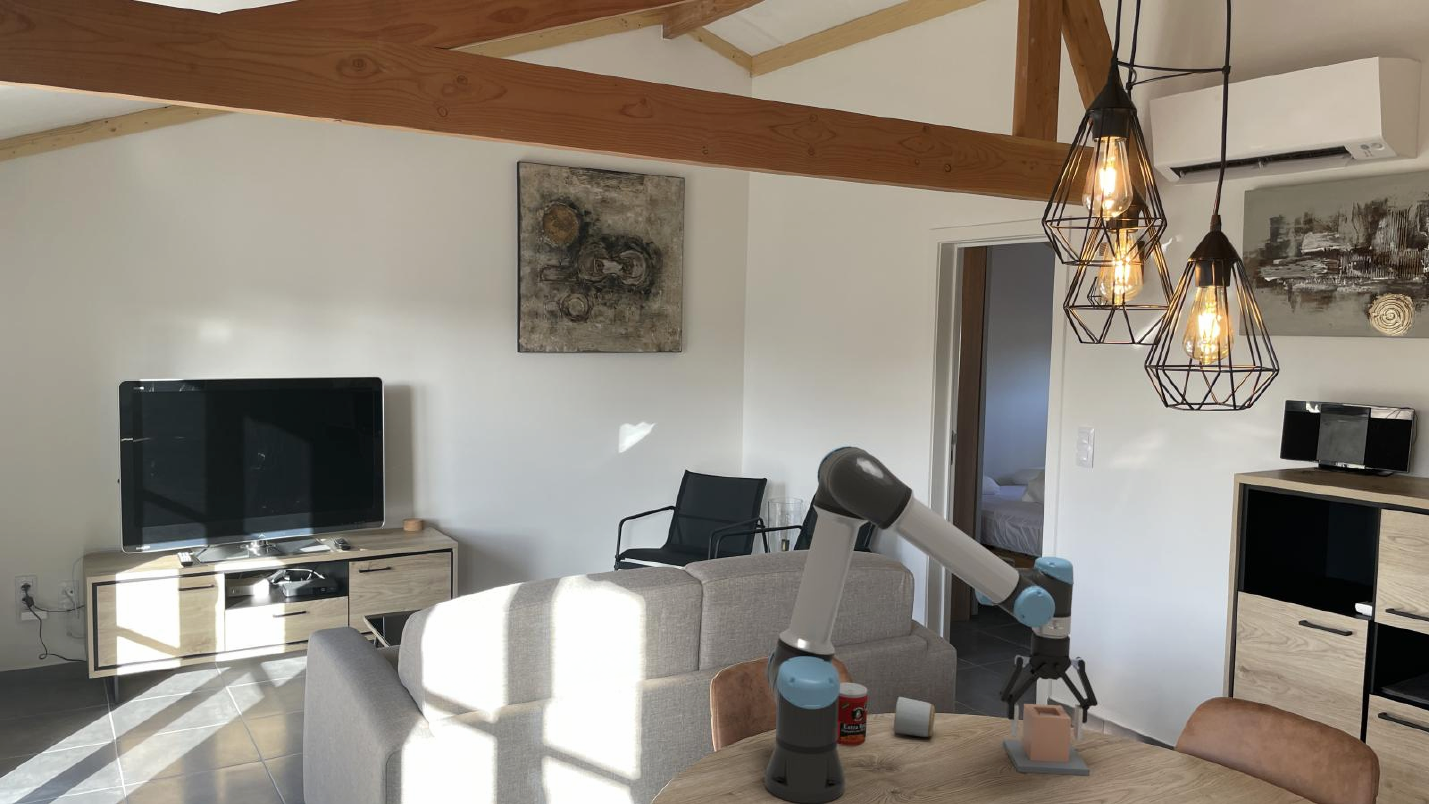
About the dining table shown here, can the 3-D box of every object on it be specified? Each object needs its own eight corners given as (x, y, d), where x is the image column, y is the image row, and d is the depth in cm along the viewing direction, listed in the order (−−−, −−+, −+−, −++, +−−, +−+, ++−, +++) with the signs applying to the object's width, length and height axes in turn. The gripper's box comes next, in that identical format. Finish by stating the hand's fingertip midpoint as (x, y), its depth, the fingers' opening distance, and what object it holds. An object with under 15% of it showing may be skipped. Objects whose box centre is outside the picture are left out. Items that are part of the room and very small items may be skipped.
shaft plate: (1018, 771, 206) (1018, 766, 206) (1002, 744, 220) (1002, 739, 220) (1089, 775, 206) (1089, 769, 206) (1069, 747, 220) (1069, 742, 219)
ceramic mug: (931, 743, 220) (933, 707, 220) (893, 737, 222) (894, 702, 222) (935, 726, 230) (937, 692, 230) (898, 721, 232) (900, 687, 232)
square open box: (1030, 760, 209) (1032, 717, 209) (1021, 745, 217) (1023, 703, 216) (1068, 762, 209) (1071, 719, 208) (1058, 747, 216) (1060, 705, 216)
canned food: (840, 747, 216) (842, 696, 215) (823, 733, 223) (825, 684, 223) (872, 743, 219) (874, 692, 218) (854, 729, 226) (856, 680, 226)
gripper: (994, 636, 208) (989, 740, 210) (1117, 641, 207) (1111, 746, 208) (986, 625, 216) (982, 726, 217) (1105, 631, 214) (1100, 732, 216)
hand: (1045, 736), depth 213 cm, fingers open, 12 cm apart
